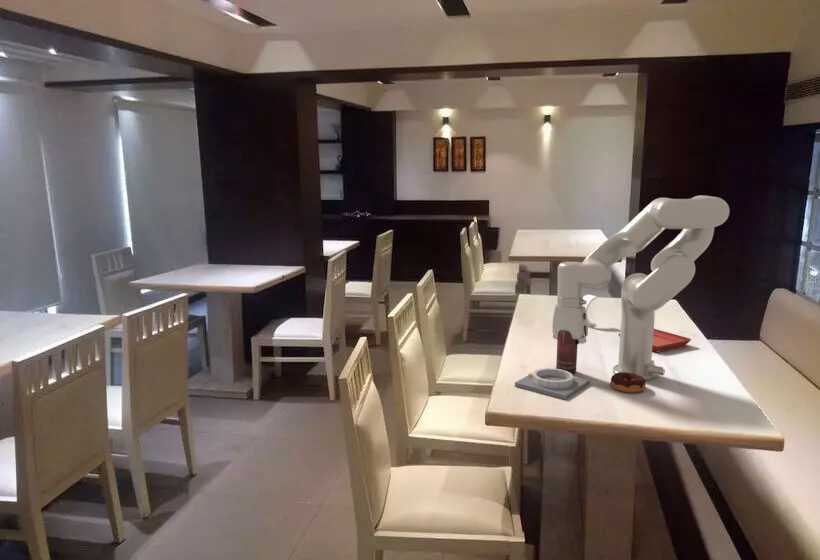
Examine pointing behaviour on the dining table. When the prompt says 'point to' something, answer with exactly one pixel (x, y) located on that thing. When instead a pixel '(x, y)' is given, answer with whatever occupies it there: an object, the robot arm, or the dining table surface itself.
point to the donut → (628, 382)
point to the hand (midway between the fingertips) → (569, 358)
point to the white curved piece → (589, 299)
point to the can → (566, 352)
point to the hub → (552, 382)
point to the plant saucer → (667, 341)
